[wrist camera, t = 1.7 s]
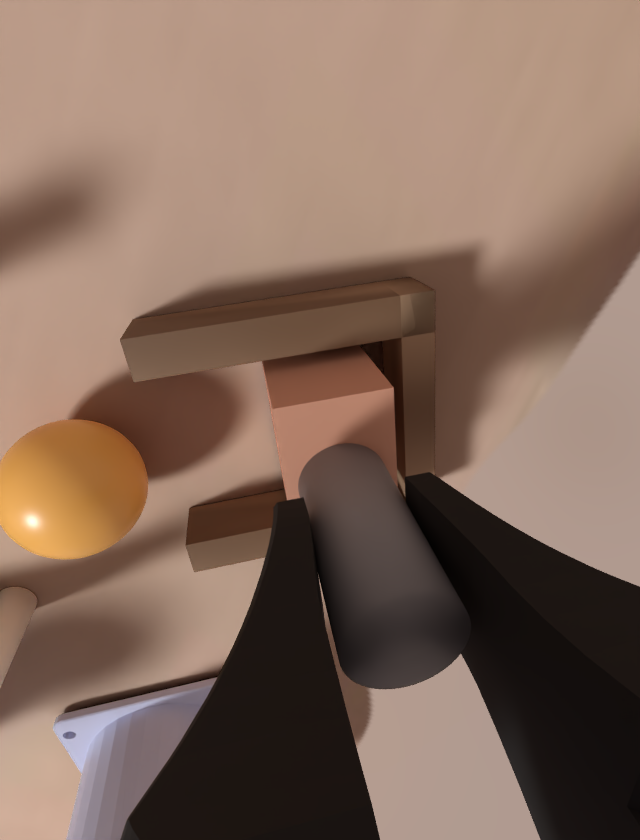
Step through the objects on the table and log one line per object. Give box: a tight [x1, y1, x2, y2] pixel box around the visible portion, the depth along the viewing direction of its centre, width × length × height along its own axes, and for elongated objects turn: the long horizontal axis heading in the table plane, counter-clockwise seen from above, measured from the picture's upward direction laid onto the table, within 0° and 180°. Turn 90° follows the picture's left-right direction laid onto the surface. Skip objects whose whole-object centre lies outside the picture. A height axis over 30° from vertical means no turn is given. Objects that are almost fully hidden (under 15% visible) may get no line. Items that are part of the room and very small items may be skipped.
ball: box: [0, 420, 148, 559], centre depth 14 cm, size 4×4×4 cm
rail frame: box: [120, 277, 435, 572], centre depth 16 cm, size 8×8×2 cm
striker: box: [262, 345, 471, 689], centre depth 12 cm, size 5×3×9 cm, turn 6°
